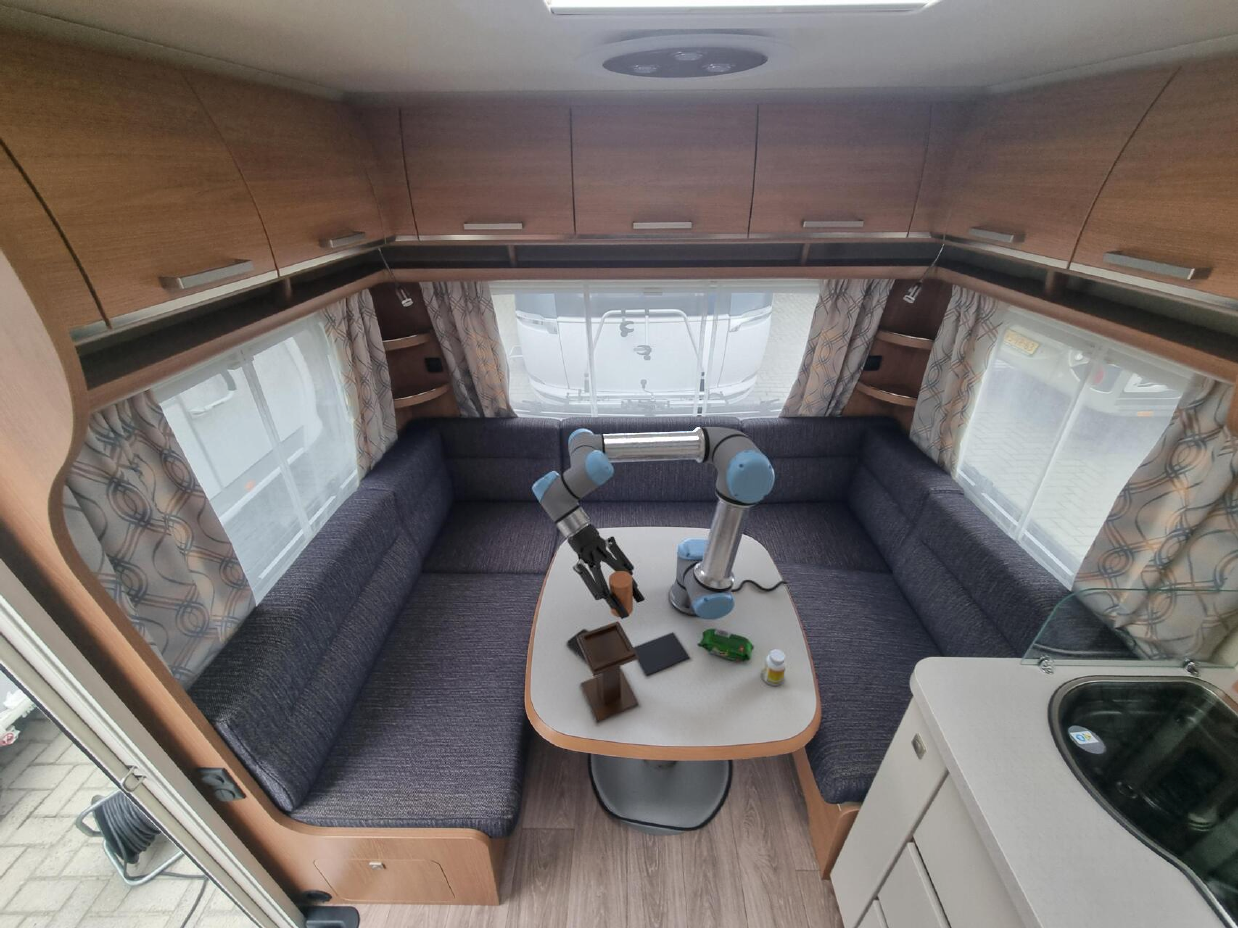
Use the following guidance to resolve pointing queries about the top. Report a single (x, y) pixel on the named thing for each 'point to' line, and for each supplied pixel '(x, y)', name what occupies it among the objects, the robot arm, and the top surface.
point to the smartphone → (577, 644)
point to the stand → (607, 670)
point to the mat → (660, 654)
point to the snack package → (726, 645)
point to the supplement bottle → (774, 667)
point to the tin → (622, 590)
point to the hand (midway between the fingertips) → (633, 608)
